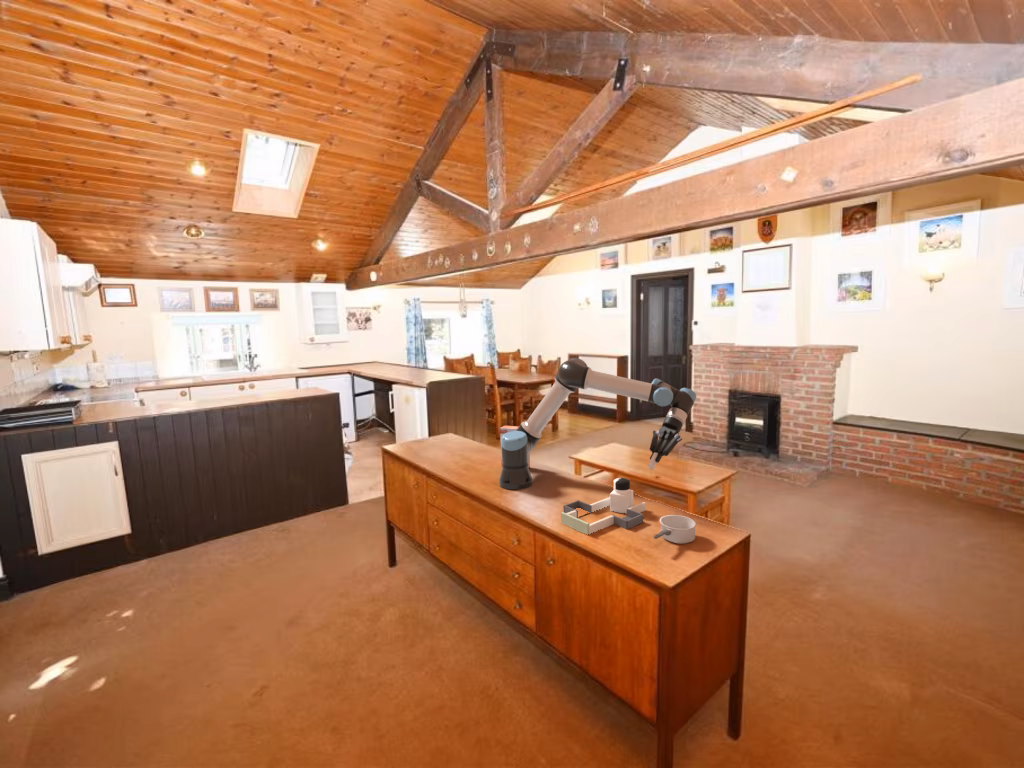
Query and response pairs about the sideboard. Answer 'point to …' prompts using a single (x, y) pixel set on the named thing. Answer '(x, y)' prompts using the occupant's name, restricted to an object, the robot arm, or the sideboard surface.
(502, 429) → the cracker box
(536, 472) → the sideboard surface
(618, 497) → the medicine bottle
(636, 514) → the channel
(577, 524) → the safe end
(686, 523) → the saucepan
